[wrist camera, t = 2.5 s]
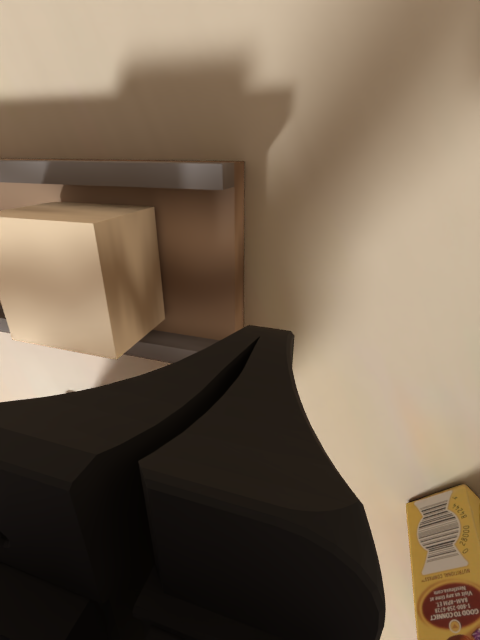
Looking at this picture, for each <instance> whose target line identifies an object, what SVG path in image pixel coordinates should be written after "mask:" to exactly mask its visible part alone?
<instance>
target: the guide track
mask: <svg viewBox="0 0 480 640" xmlns="http://www.w3.org/2000/svg"><path fill="white" fill-rule="evenodd" d="M49 202H71V203H90V204H109V205H129V206H148V207H154V210H155V220H156V230H157V241H158V251H159V261H160V271H161V281H162V291H163V302H164V312H165V319H164V320H163V321H162V322H161V323H160V324H158V325H157V326H156V327H155V328H154V329H152V330H151V331H150V332H149V333H148V334H147V335H145V336H144V337H143V338H142V339H141V340H139V341H138V342H137V343H136V344H135V345H133V346H132V347H131V348H130V349H129V350H128V351H126V352H125V353H124V354H125V355H131V356H136V357H142V358H147V359H153V360H158V361H163V362H169V363H175V362H177V361H180V360H182V359H184V358H186V357H188V356H190V355H192V354H194V353H197V352H199V351H201V350H203V349H205V348H207V347H209V346H211V345H212V344H214V343H216V342H218V341H220V340H222V339H224V338H226V337H227V336H229V335H231V334H233V333H235V332H236V331H238V330H240V329H242V328H243V318H244V161H165V160H79V159H0V211H2V210H8V209H14V208H19V207H25V206H31V205H37V204H43V203H49ZM0 332H6V333H10V330H9V327H8V324H7V320H6V317H5V314H4V311H3V307H2V304H1V301H0Z"/></svg>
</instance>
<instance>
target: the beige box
mask: <svg viewBox="0 0 480 640" xmlns="http://www.w3.org/2000/svg"><path fill="white" fill-rule="evenodd" d="M0 301H1V304H2V307H3V311H4V314H5V317H6V320H7V324H8V327H9V330H10V333H11V337H12V340H16V341H21V342H26V343H31V344H37V345H42V346H47V347H52V348H58V349H63V350H68V351H73V352H79V353H84V354H89V355H95V356H100V357H105V358H110V359H116V360H117V359H118V358H119V357H120V356H122V355H123V354H124V353H125V352H126V351H128V350H129V349H130V348H131V347H132V346H133V345H135V344H136V343H137V342H138V341H139V340H141V339H142V338H143V337H144V336H145V335H147V334H148V333H149V332H150V331H151V330H152V329H154V328H155V327H156V326H157V325H158V324H160V323H161V322H162V321H163V320H164V319H165V312H164V302H163V291H162V281H161V271H160V261H159V251H158V241H157V230H156V220H155V210H154V207H148V206H129V205H109V204H90V203H71V202H49V203H43V204H37V205H31V206H25V207H19V208H14V209H8V210H2V211H0Z"/></svg>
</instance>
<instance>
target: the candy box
mask: <svg viewBox="0 0 480 640" xmlns="http://www.w3.org/2000/svg"><path fill="white" fill-rule="evenodd" d="M406 513H407V525H408V536H409V546H410V557H411V569H412V582H413V594H414V606H415V618H416V628H417V639H418V640H480V499H479V497H477V496H476V495H475V494H474V493H473V492H472V491H471V490H470V489H469V488H468V486H466V485H465V484H462V485H459V486H456V487H453V488H450V489H447V490H444V491H441V492H438V493H435V494H432V495H429V496H426V497H423V498H421V499H419V500H416V501H413V502H409V503H407V504H406Z"/></svg>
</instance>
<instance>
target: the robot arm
mask: <svg viewBox="0 0 480 640" xmlns="http://www.w3.org/2000/svg"><path fill="white" fill-rule="evenodd" d="M293 347H294V334H293V333H292V332H291V331H286V330H279V329H272V328H265V327H258V326H252V325H249V326H246V327H244V328H242V329H240V330H238V331H236V332H235V333H233V334H231V335H229V336H227V337H226V338H224V339H222V340H220V341H218V342H216V343H214V344H212V345H211V346H209V347H207V348H205V349H203V350H201V351H199V352H197V353H194V354H192V355H190V356H188V357H186V358H184V359H182V360H180V361H177V362H175V363H173V364H170V365H168V366H165V367H163V368H160V369H157V370H154V371H152V372H149V373H146V374H143V375H140V376H137V377H133V378H130V379H126V380H122V381H119V382H115V383H111V384H108V385H104V386H100V387H96V388H91V389H86V390H82V391H77V392H71V393H66V394H60V395H54V396H48V397H41V398H33V399H25V400H17V401H8V402H0V640H380V637H381V634H382V630H383V627H384V622H385V610H386V608H385V595H384V588H383V581H382V575H381V570H380V565H379V560H378V556H377V552H376V548H375V544H374V540H373V537H372V533H371V530H370V526H369V523H368V520H367V516H366V513H365V510H364V506H363V504H362V503H361V502H360V500H359V499H358V498H357V497H356V495H355V494H354V493H353V491H352V490H351V489H350V488H349V486H348V485H347V483H346V482H345V481H344V479H343V478H342V476H341V475H340V474H339V472H338V471H337V469H336V468H335V466H334V465H333V463H332V462H331V460H330V458H329V457H328V455H327V454H326V452H325V450H324V449H323V447H322V445H321V443H320V441H319V439H318V438H317V436H316V434H315V432H314V430H313V428H312V427H311V424H310V422H309V420H308V418H307V415H306V413H305V411H304V408H303V406H302V403H301V400H300V397H299V394H298V391H297V388H296V384H295V380H294V375H293V370H292V360H293Z"/></svg>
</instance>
